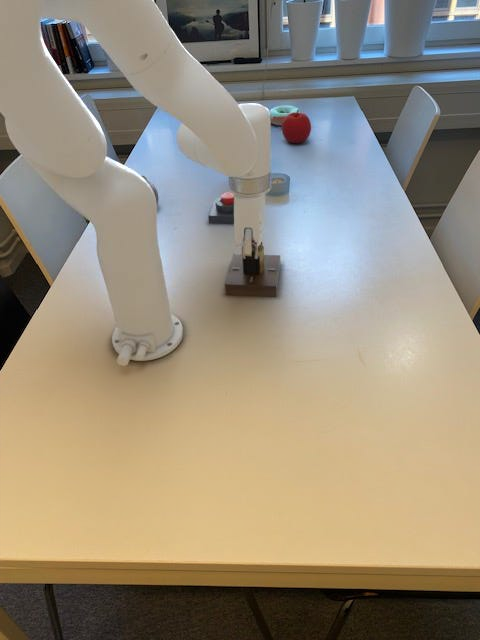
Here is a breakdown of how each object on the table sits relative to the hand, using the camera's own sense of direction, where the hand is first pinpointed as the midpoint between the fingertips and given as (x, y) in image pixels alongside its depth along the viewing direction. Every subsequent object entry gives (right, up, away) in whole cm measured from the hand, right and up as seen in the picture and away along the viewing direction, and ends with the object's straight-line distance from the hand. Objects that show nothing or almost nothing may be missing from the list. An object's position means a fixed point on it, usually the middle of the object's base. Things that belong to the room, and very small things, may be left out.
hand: (253, 265), depth 98 cm
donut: (+13, +59, +75) cm, 96 cm away
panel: (0, -3, +2) cm, 3 cm away
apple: (+15, +47, +60) cm, 77 cm away
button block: (-5, +15, +24) cm, 29 cm away
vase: (-27, +17, +28) cm, 43 cm away
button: (-5, +18, +21) cm, 28 cm away
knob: (0, -1, +1) cm, 1 cm away
